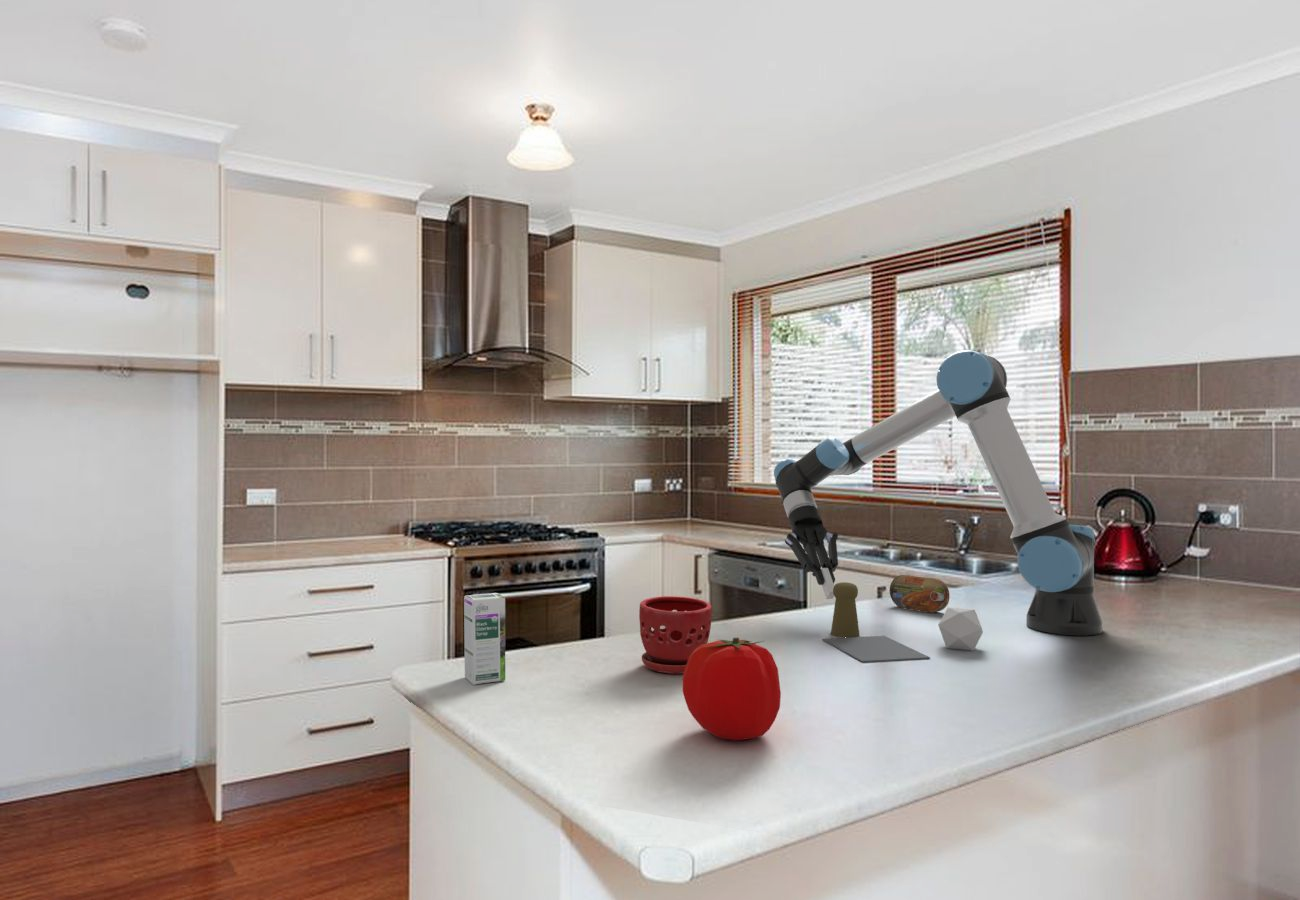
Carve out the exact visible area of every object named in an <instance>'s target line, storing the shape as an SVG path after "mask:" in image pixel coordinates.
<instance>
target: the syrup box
mask: <svg viewBox="0 0 1300 900" xmlns="http://www.w3.org/2000/svg"><path fill="white" fill-rule="evenodd" d="M463 597H464V598H463V615H464V617H463V618H464V619H463V620H464V622H463V625H464V627H463V629H464V630H463V632H464V633H463V635H464V637H463V638H464V642H463V643H464V678H465V679H466V680H467V681H468V682H469V683H470V684H471V685H473V686H475V685H481V684H488V683H489V684H490V683H496V682H505V681H506V598H505V596H503V595H502V594H500V593H498V592H492V593H480V594H470V595H464V596H463Z"/></svg>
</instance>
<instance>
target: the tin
mask: <svg viewBox="0 0 1300 900" xmlns="http://www.w3.org/2000/svg"><path fill="white" fill-rule="evenodd" d="M889 597H890V598H891V600H892V602H893V604H894V605H896V607H898V608H900V609H903V608H906V610H909V609H913V610H912V611H916V610H920V611H919V612H922V611H926V612H925V613H928V612H930V614H933V613H937V612H941V611H943V610H944V609H945V608H946V607H947V606H948V605H949V602H950V590H949V587H948V586H947V585H946V583H945V582H944V581H943V580H942V579H939V578H935V577H928V576H927V577H926V576H918V575H910V574H900V575H898V576H896V577H895V578H893V580H892V581H891V583H890V585H889Z"/></svg>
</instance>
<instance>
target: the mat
mask: <svg viewBox="0 0 1300 900" xmlns="http://www.w3.org/2000/svg"><path fill="white" fill-rule="evenodd" d="M822 641H823V642H825V643H827V644H829V645H831V646H832V647H834V648H836V649H837V650H839V651H841V652H843V653H845V654H846V655H848V656H850V657H852V658H853V659H855V660H857V661H858V662H860V663H877V662H895V661H896V662H897V661H898V662H899V661H916V660H931V656H928V655H926V654H924V653H923V652H920V651H918V650H915V649H914V648H911V647H909V646H907V645H905V644H903V643H901V642H899V641H897V640H894V639H892V638H890V637H888V636H886V635H870V636H858V637H846V638H845V637H833V638H831V637H830V638H829V637H828V638H827V637H826V638H822Z"/></svg>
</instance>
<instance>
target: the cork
mask: <svg viewBox="0 0 1300 900" xmlns="http://www.w3.org/2000/svg"><path fill="white" fill-rule="evenodd" d="M834 584H835V585H834V588H833V594H834V598H835V600H834V606H833V607H834V608H833V616H832V622H831V631H830V634H831V635H832V636H834V637H836V638H845V637H860V628H859V627H860V626H859V620H858V612H857V611H858V610H857V603H856V598H857V597H858V595H859V588H858V587H857V585H856V584H854V583H851V582H836V583H834Z"/></svg>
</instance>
